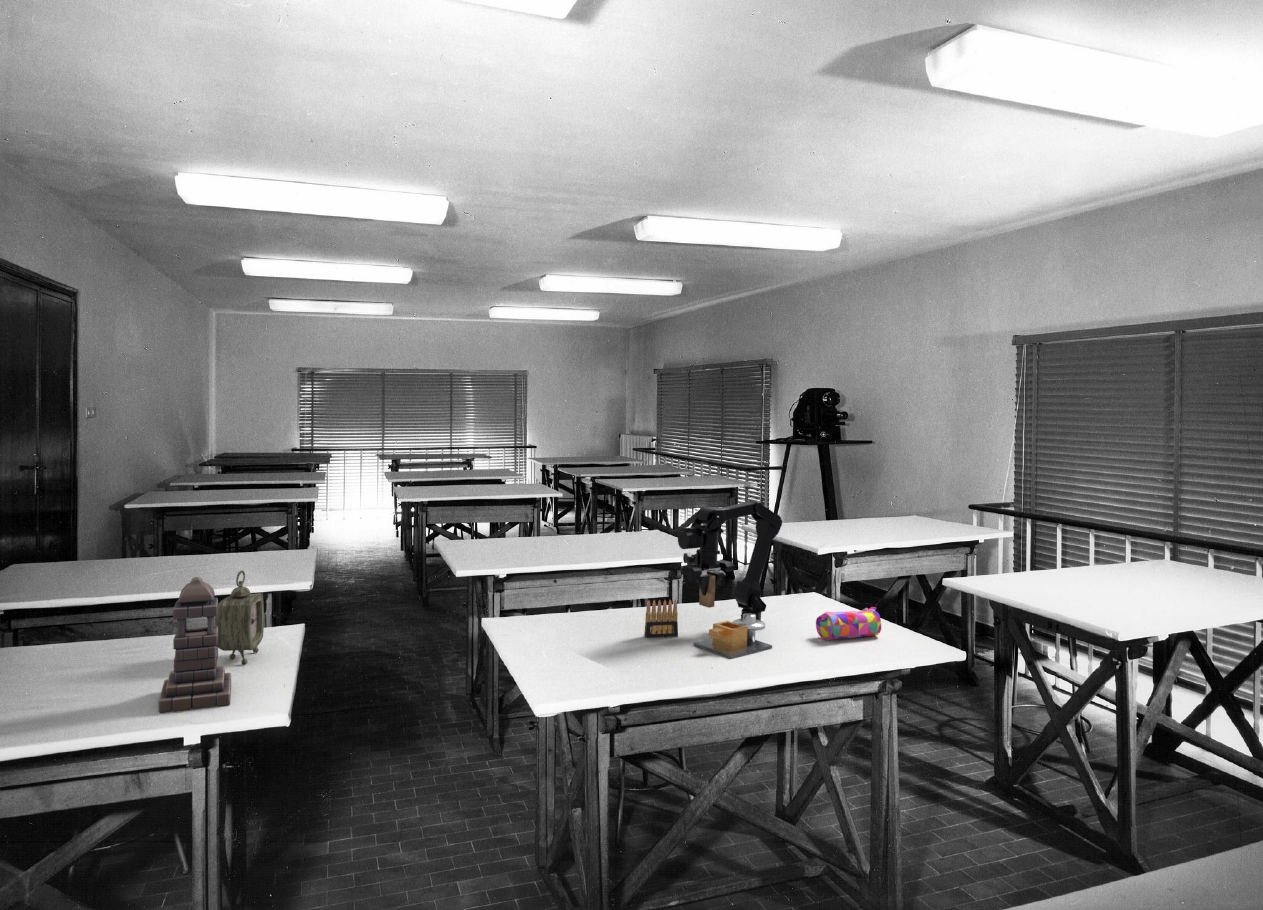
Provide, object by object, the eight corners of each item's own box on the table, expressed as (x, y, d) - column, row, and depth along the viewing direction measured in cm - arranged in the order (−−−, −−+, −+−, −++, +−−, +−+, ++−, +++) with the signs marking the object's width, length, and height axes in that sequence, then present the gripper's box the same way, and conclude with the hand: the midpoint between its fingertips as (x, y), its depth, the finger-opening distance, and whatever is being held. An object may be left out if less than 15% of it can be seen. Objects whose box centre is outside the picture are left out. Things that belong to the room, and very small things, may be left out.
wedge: (704, 603, 268) (705, 573, 268) (714, 606, 265) (715, 575, 264) (699, 604, 267) (700, 574, 266) (708, 607, 263) (709, 576, 262)
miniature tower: (164, 691, 205) (163, 572, 203) (231, 684, 211) (230, 568, 209) (158, 714, 190) (156, 586, 188) (230, 705, 196) (229, 581, 194)
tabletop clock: (249, 666, 224) (248, 576, 223) (213, 667, 223) (213, 576, 221) (264, 650, 239) (263, 565, 237) (230, 651, 237) (230, 565, 235)
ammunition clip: (676, 635, 265) (677, 598, 264) (678, 636, 263) (679, 599, 262) (644, 636, 263) (645, 599, 262) (645, 638, 261) (646, 600, 260)
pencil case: (864, 630, 277) (865, 603, 276) (884, 637, 268) (885, 610, 268) (812, 636, 267) (813, 609, 266) (831, 645, 259) (832, 616, 258)
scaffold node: (740, 634, 267) (741, 607, 267) (778, 646, 255) (779, 618, 254) (693, 645, 254) (694, 616, 253) (731, 658, 242) (732, 628, 241)
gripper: (712, 540, 276) (710, 586, 277) (670, 545, 265) (668, 593, 266) (736, 545, 268) (734, 593, 269) (693, 551, 256) (692, 600, 257)
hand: (707, 594), depth 265 cm, fingers closed on wedge, 2 cm apart
